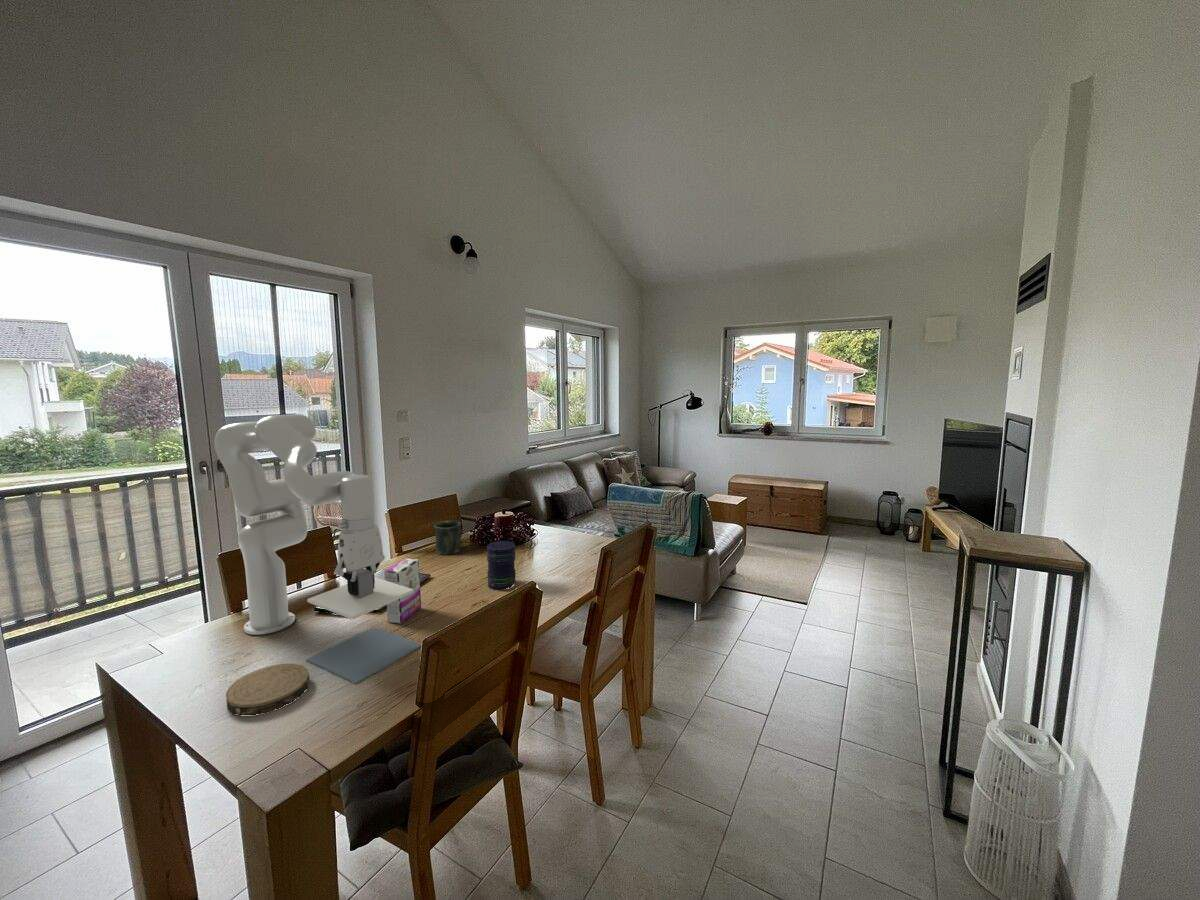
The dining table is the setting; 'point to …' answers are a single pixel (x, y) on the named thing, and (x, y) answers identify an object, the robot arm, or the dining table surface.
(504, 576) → the storage jar
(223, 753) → the dining table surface
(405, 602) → the candy bar box
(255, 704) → the cork trivet
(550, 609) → the dining table surface
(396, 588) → the lid
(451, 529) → the mug
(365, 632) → the mat
